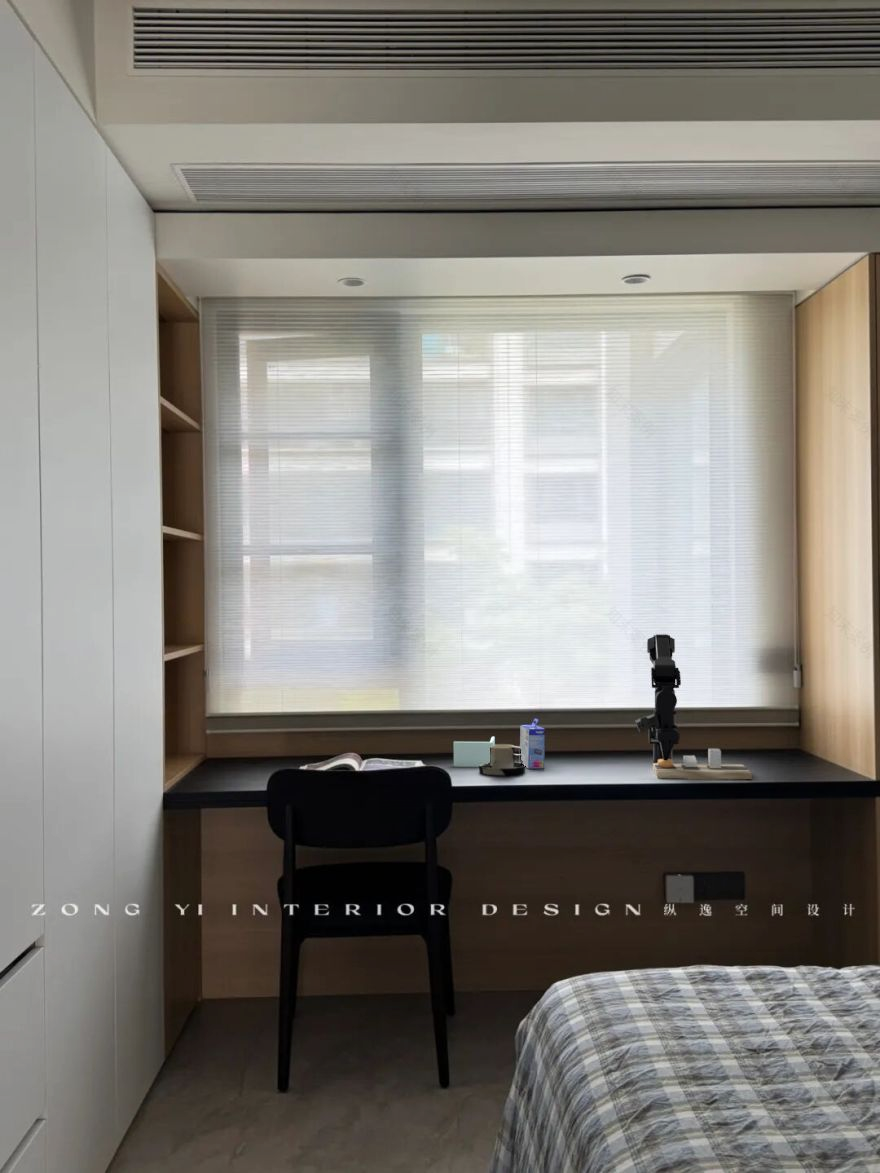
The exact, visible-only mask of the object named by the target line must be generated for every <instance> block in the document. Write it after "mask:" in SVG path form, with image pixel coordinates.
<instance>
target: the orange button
mask: <svg viewBox="0 0 880 1173" xmlns="http://www.w3.org/2000/svg"><path fill="white" fill-rule="evenodd" d="M673 762H674V759H673V758H672V759H668V760H664V759H658V767H664V768H669V767H673Z"/></svg>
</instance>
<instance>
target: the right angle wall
mask: <svg viewBox="0 0 880 1173" xmlns="http://www.w3.org/2000/svg"><path fill="white" fill-rule="evenodd" d="M495 739H496V737H495V736H491V738H490V740H489V741H453V767H460V768H461V767H462V768H463V767H465V768H466V767H469V768H470V767H473V768H475V767H476V768H480V767H479V766H480V765H481V764H488V763H489V762H490V747H491V746H493V745H495V746H496V743H495V741H496V740H495Z"/></svg>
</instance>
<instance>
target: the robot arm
mask: <svg viewBox="0 0 880 1173" xmlns="http://www.w3.org/2000/svg"><path fill="white" fill-rule="evenodd" d="M675 641H676V640H675V638H673V637H671V635H670V634H666V633H665V634H664V633H663V634H654V635H653V636H651V637H650V638H647V644H646V648H647V653H646V654H649V661H651V664H652V665H653V666H651V667H650V673H651V674H650V675H651V676H650V677H651V680H650V681H651V688H652V689H654V709H653V710H652V711H653V713H652V714H651V715H647V716H646V715H644V716H643V717H640V718H637V719H636V720H634V722H635V724H636V727H637V730H638V732H639V733H643V732H645V731H647V730H648V745H652V746H653V748H652V752H653V753H652V755H653V757H652V759H650V760H651V761H650V762H652V763H651V764H653V763H658V759H664V760H668V759H672V760H673V749H674V748H673V747H674V745H679V744H680V743H679V742H680V739H681V738H680V736H681V735H680V729H679V728H678V725H677V724H676V715H677V710H676V706H677V704H678V698H677V695H676V691H675V689H680V686H681V684H682V681H681V678H682V677H681V671H680V669H679V667H676V661H675V660H674V659H673V654H674V653H675V652H676V651H675V650H676V645H675V644H676V642H675ZM673 763H675V761H673Z"/></svg>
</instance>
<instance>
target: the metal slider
mask: <svg viewBox="0 0 880 1173" xmlns="http://www.w3.org/2000/svg"><path fill="white" fill-rule="evenodd" d="M707 749H708V750H707V757H708V758H707V759H708V760H707V761H708V762H707V764H708V766H709V767H710V768H721V764H722V750H721V749H720V748H707Z"/></svg>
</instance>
